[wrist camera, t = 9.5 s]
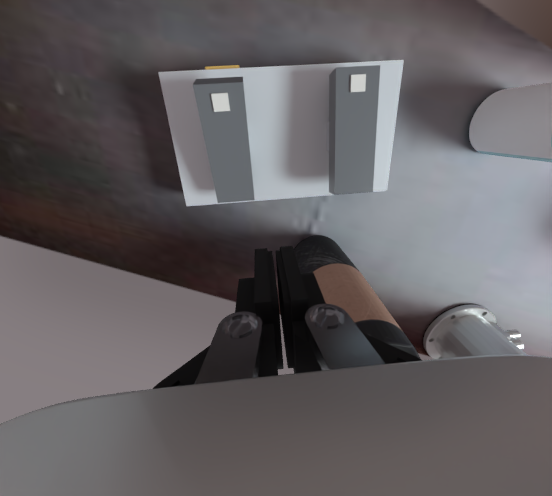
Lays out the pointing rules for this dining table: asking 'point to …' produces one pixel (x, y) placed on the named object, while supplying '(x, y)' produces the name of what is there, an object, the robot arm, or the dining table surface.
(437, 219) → the dining table surface
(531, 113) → the can
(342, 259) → the travel mug
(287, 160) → the switch housing
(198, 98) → the block
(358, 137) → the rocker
